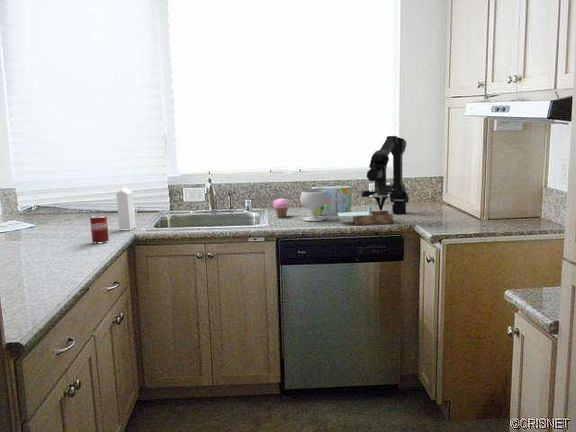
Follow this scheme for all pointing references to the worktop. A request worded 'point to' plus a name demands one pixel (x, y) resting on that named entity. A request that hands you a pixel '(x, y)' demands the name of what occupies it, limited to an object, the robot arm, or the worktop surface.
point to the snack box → (335, 200)
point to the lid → (356, 213)
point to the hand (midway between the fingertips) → (380, 210)
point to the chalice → (313, 202)
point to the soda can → (99, 228)
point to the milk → (126, 208)
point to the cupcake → (281, 207)
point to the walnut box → (374, 218)
